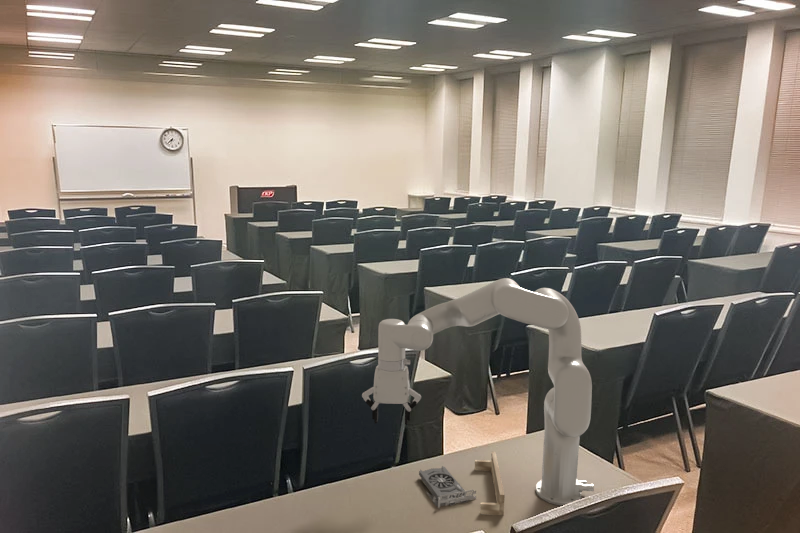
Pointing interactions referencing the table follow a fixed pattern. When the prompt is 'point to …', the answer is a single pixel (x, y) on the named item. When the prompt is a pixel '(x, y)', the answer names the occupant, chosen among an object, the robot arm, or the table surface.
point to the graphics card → (444, 487)
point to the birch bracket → (499, 492)
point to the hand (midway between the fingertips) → (391, 421)
